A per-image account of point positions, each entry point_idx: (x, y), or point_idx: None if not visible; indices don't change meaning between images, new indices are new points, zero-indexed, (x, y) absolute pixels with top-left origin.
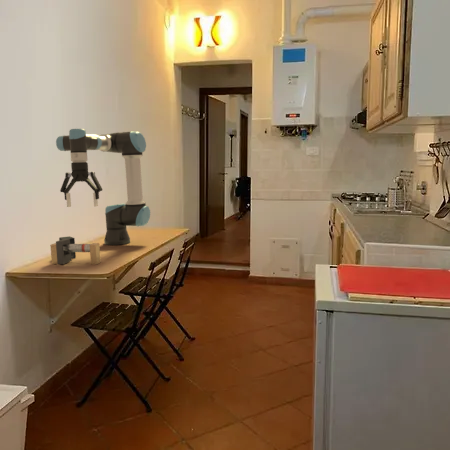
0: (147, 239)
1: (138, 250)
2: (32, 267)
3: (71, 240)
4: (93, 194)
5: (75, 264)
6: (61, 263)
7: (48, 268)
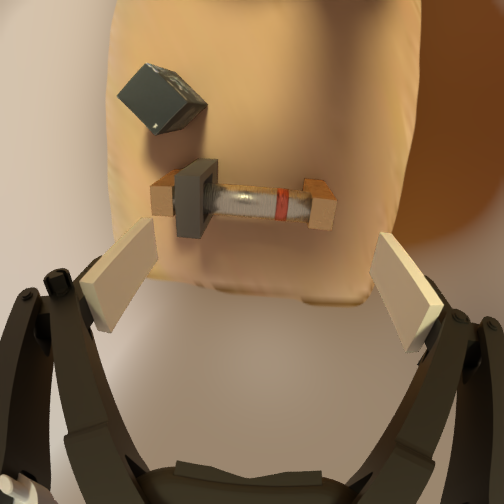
0: None
1: (388, 9)
2: None
3: (180, 112)
4: (402, 340)
5: None
6: None
7: (195, 243)
